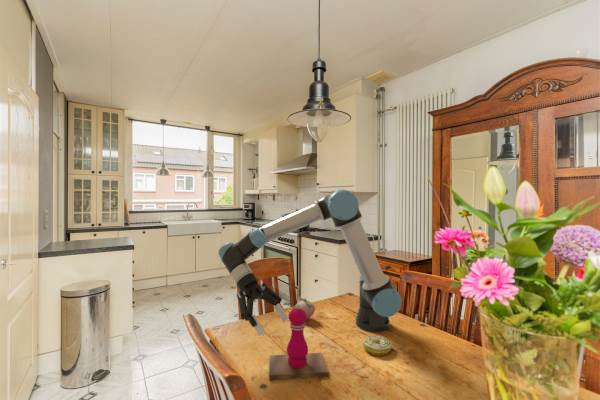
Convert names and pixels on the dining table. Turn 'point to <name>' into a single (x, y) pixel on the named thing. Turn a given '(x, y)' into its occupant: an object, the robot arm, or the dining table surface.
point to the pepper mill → (297, 339)
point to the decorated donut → (377, 345)
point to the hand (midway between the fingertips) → (274, 326)
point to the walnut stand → (284, 371)
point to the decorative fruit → (307, 307)
